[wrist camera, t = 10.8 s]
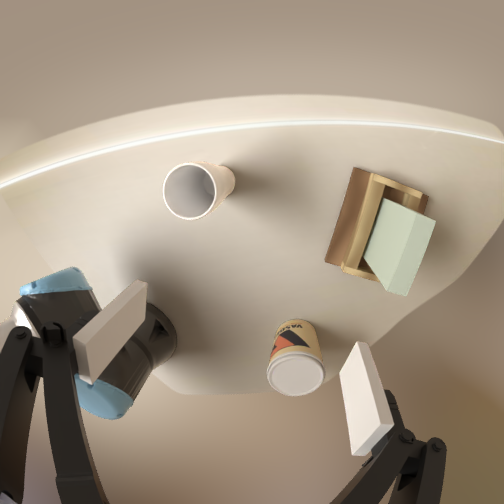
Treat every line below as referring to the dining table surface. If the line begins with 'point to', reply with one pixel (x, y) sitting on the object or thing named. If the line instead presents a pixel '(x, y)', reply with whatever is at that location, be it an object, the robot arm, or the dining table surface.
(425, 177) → the dining table surface
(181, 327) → the dining table surface
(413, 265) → the door panel
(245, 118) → the dining table surface
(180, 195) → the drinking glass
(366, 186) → the track board
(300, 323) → the coffee cup
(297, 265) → the dining table surface
